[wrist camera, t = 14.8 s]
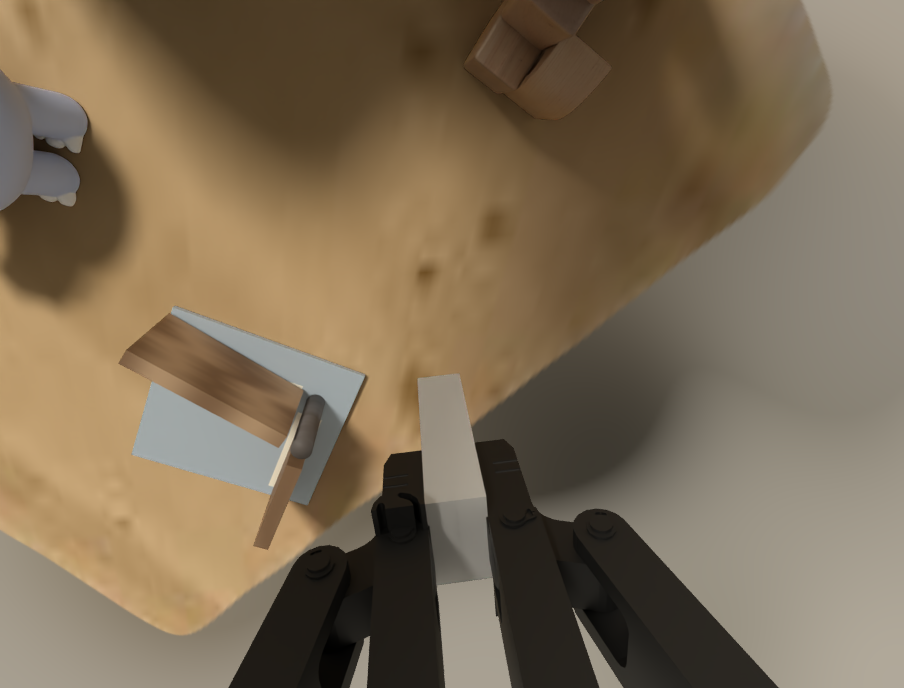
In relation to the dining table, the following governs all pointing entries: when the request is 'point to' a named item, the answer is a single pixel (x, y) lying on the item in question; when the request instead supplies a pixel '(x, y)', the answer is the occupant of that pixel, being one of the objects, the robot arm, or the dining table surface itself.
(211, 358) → the fence panel
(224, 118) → the dining table surface
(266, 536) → the fence fixed
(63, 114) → the hippopotamus toy
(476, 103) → the dining table surface
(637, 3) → the dining table surface
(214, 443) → the card
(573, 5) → the wooden toy
